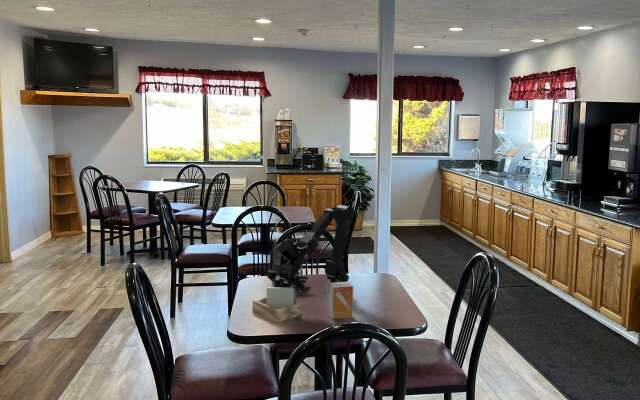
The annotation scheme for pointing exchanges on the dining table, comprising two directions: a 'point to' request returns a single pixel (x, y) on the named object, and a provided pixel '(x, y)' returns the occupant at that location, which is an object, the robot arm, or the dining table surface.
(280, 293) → the door
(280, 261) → the vintage camera
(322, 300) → the dining table surface
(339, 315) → the small box
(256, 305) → the wooden tray
